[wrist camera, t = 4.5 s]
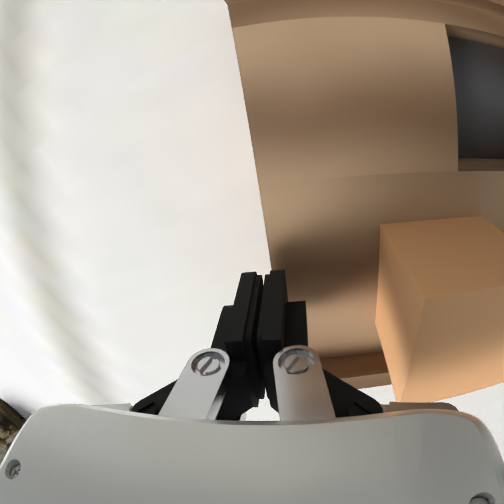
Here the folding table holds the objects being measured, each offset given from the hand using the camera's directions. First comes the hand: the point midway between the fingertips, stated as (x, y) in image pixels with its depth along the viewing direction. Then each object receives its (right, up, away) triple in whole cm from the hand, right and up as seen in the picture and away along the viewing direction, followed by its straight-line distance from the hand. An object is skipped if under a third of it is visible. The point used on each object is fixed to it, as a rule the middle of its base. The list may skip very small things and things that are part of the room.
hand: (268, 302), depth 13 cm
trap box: (+17, +6, -1) cm, 18 cm away
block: (+7, +1, 0) cm, 7 cm away
